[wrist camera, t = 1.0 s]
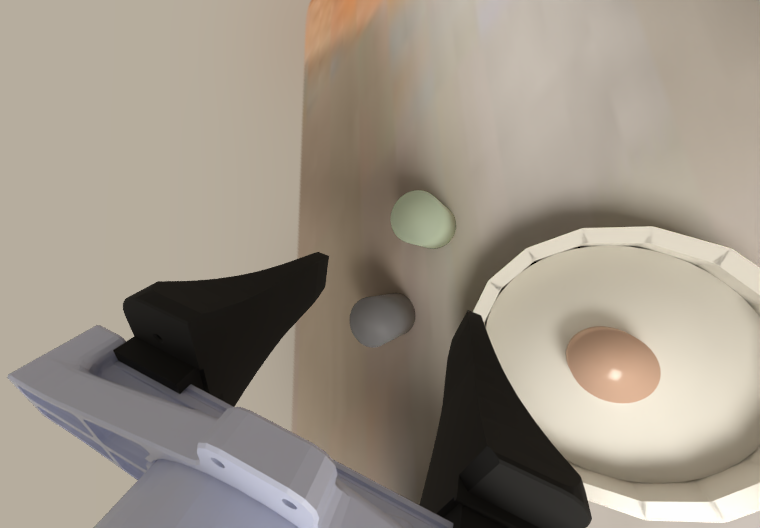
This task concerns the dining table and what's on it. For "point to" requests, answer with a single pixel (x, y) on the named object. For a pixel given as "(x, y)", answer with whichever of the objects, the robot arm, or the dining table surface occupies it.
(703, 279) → the groove tray
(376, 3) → the dining table surface
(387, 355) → the dining table surface
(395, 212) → the pale green rounded block
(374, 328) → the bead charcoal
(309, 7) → the dining table surface
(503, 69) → the dining table surface
